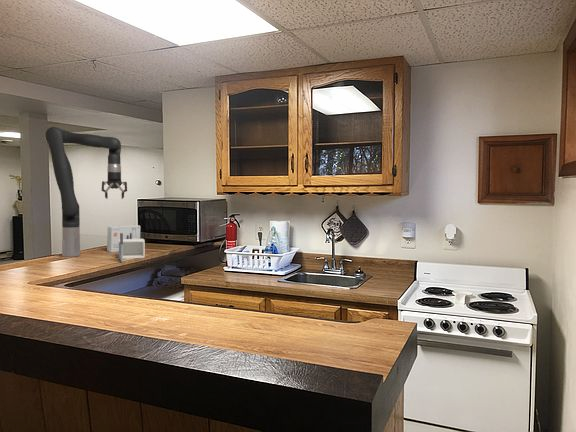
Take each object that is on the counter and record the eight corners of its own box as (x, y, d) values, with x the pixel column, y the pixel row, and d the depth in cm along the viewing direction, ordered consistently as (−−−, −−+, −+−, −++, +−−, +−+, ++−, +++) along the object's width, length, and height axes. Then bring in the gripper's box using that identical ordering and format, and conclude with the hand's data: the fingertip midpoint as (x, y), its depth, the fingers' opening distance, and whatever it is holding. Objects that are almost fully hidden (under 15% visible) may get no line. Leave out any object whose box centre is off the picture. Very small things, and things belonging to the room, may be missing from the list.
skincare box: (111, 252, 277) (111, 227, 276) (106, 251, 280) (106, 226, 279) (140, 249, 293) (140, 225, 292) (136, 248, 297) (135, 224, 296)
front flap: (118, 258, 255) (118, 231, 254) (120, 258, 255) (120, 231, 254) (121, 262, 243) (120, 233, 242) (123, 262, 243) (123, 233, 242)
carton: (119, 258, 256) (119, 241, 255) (118, 255, 265) (118, 239, 264) (144, 257, 261) (144, 240, 260) (143, 254, 270) (143, 238, 270)
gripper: (126, 172, 269) (126, 198, 271) (101, 171, 264) (101, 198, 265) (127, 171, 263) (127, 199, 264) (101, 171, 257) (101, 199, 258)
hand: (114, 198), depth 264 cm, fingers open, 8 cm apart
